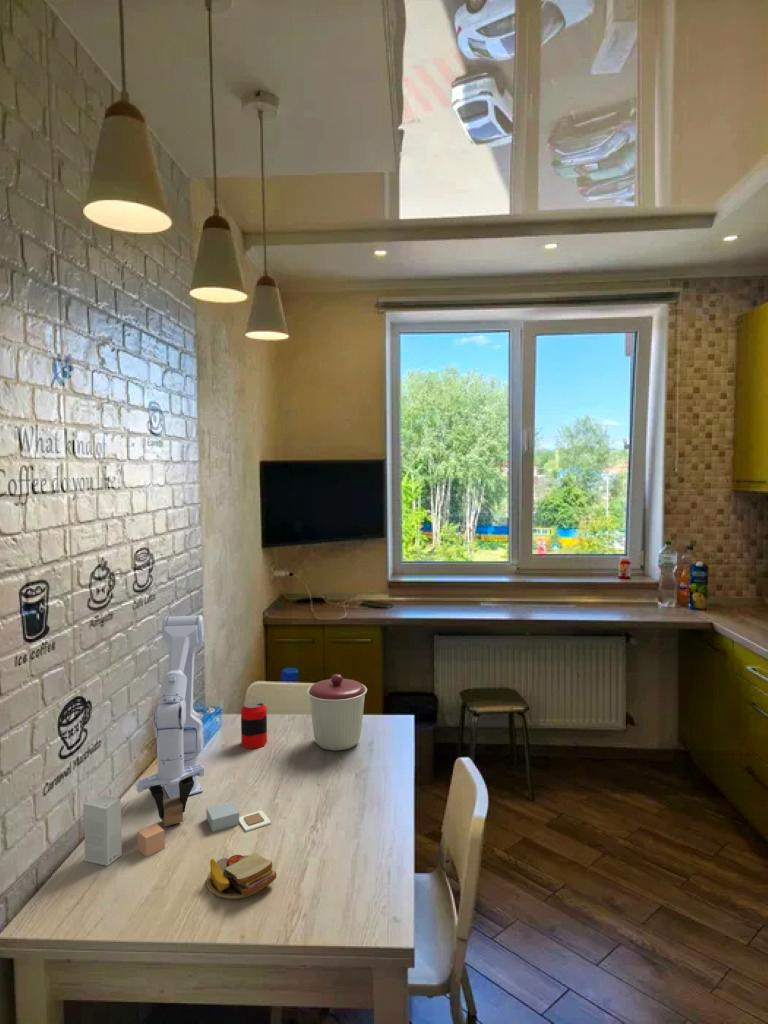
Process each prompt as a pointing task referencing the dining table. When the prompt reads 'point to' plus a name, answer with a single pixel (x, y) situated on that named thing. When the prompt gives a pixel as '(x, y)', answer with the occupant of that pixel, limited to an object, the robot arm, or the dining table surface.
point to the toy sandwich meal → (240, 876)
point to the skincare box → (102, 830)
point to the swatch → (254, 820)
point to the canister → (337, 712)
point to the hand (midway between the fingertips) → (171, 813)
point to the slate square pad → (222, 816)
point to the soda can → (253, 725)
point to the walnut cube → (172, 811)
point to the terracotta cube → (151, 839)
